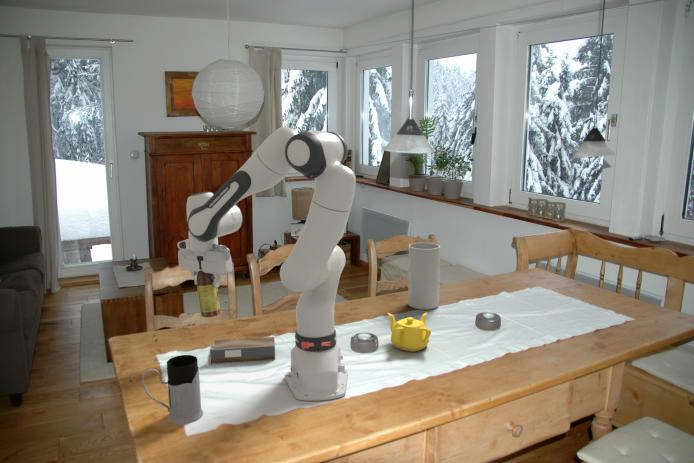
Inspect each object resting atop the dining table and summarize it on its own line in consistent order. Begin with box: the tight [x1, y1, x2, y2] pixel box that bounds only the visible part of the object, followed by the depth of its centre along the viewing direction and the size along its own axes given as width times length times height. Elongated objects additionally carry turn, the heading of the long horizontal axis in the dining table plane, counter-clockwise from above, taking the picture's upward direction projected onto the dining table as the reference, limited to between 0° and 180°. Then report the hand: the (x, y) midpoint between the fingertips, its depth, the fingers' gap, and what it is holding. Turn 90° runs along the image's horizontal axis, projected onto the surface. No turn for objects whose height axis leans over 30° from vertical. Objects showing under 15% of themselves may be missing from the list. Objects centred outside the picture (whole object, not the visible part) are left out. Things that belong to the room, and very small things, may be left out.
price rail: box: [209, 345, 276, 360], centre depth 178 cm, size 2×20×3 cm, turn 98°
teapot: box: [387, 312, 432, 353], centre depth 189 cm, size 14×13×10 cm
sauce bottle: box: [196, 256, 221, 318], centre depth 180 cm, size 6×6×20 cm
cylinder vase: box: [407, 242, 441, 311], centre depth 229 cm, size 12×12×25 cm
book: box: [210, 336, 276, 365], centre depth 186 cm, size 16×20×2 cm
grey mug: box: [141, 354, 204, 425], centre depth 143 cm, size 9×14×15 cm, turn 107°
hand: (207, 285), depth 180 cm, fingers closed on sauce bottle, 6 cm apart
